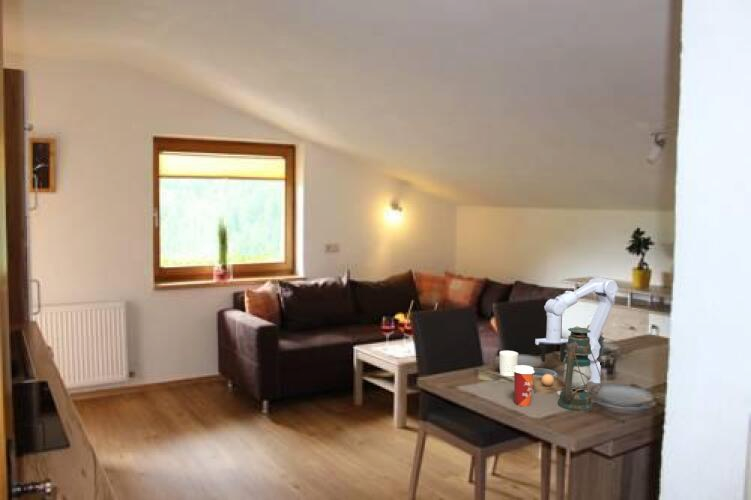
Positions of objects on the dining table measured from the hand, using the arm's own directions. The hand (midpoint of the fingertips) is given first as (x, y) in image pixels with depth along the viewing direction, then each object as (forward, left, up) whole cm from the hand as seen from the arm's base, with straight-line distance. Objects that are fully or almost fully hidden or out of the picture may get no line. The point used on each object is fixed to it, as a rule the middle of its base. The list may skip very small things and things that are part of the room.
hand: (552, 361), depth 272 cm
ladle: (-5, +12, -10) cm, 16 cm away
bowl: (+2, -7, -10) cm, 12 cm away
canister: (-28, -34, -10) cm, 45 cm away
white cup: (+15, -11, -10) cm, 21 cm away
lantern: (-2, +27, -10) cm, 28 cm away
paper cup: (+18, +25, -10) cm, 32 cm away
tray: (+3, +6, -10) cm, 12 cm away
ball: (+3, +6, -9) cm, 11 cm away
